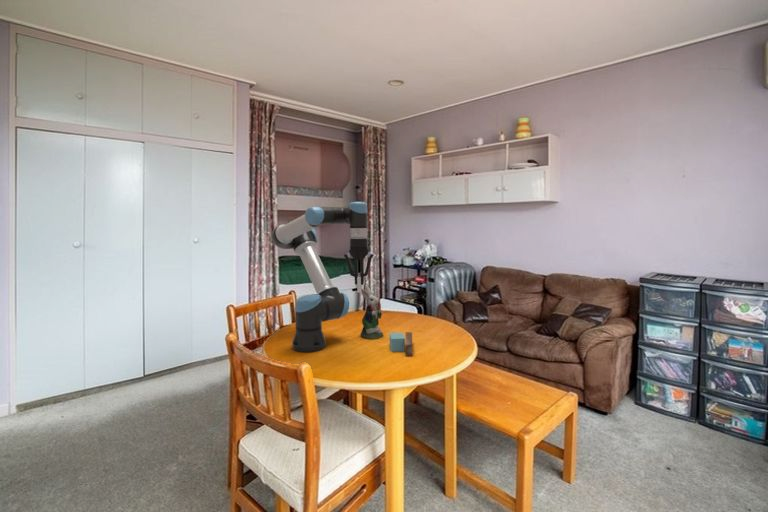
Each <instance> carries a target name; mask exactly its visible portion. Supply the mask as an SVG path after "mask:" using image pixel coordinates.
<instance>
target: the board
mask: <svg viewBox="0 0 768 512" xmlns="http://www.w3.org/2000/svg"><path fill="white" fill-rule="evenodd" d="M404 338H405V353H404V354H405V355H404V356H405V357H413V332H411V331H406V332H405V337H404Z"/></svg>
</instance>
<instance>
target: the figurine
mask: <svg viewBox="0 0 768 512" xmlns="http://www.w3.org/2000/svg"><path fill="white" fill-rule="evenodd" d="M364 288H365V289H364ZM364 288H362V291H361V295H362V297H363V298H365V300H366V301H365V302H366V303H365V304H366V307H365V313H364V314H363V317H362V319H361V324H362V326H363V327H362V330H361V332H360V337H361V338H362V339H366V340H376V339H380V338H382V337H384V333H383V332H382V329H381V328H380V327H379V319H382V315H383V314H382V306H381V305H382V304H381V301H380V298H379V297H376V296H375V295H372V290H371V289H370V287H369V286H368V285H365V286H364Z"/></svg>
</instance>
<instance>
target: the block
mask: <svg viewBox="0 0 768 512" xmlns="http://www.w3.org/2000/svg"><path fill="white" fill-rule="evenodd" d="M405 338H406V337H405V335H404V333H403V332H389V348H390V352H391V353H398V352H403V351H405ZM403 353H404V352H403Z"/></svg>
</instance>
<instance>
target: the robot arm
mask: <svg viewBox="0 0 768 512" xmlns="http://www.w3.org/2000/svg"><path fill="white" fill-rule="evenodd" d="M323 225H325V226H326V225H349V237H350V239H349V250H348V252H346V253H345V254H344V255H343V256H344V258H345V260H346V263H347V267H348V270H349V275H350V276H351V277H354V285H356V286H357V287H356V288H357V291H356V292H357V293H361V291H362V289H363V288H362V287H363V286H362V285H364V284H365V277H367V276H368V275H369V271H370V267H371V263H372V259H373V258H374V255H375V254H374V253H372V252H370V250H369V248H368V247H369V246H368V204H367V202H366V201H352V202H349V206H310V207H307V209H306V211H305V213H304V214H303V215H300V216H299V217H297V218H295V219H294V220H291V221H290V222H288V223H286V224H284V223H282V224H280V225H278V226H276V227H275V228H274V229H273V230H272V232H271V238H270V239H271V241H272V243H273V244H274V246H275V247H277V248H279V249H283V250H292V249H293V251H294V253H295V255H297V256H299V258H300V259H301V262H302V264H303V267H305V270H306V273H307V275H308V276H309V277H308V278H309V279H310V281H311V283H312V286H313V287H314V289H315V292H316V293H312V294H305V295H302V296H299V297H298V298H297V299H295V304H294V312H295V313H294V316H295V319H294V320H295V332H294V336H293V340H292V343H291V345H292V347H291V348H292V350H293V351H295V352H300V353H312V352H317V351H321V350H324V349H325V348H326V347H327V340H326V337H325V335H324V331H323V329H322V328H323V326H322V324H323V322H328V321H332V320H335V319H337V320H338V319H341V318H343V317H345V316H347V314H348V312H349V309H350V299H349V296H348V295H347V294H346V293H344V292H340V290H339V288H338V287H337V286H334V285H333V283H332V280H331V279H330V276H329V275H328V272H327V271H326V268H325V266H324V264H323V262H322V260H321V258H320V255H319V254H318V251H317V249H316V248H317V243H318V234H317V232H316V228H318V227H321V226H323ZM351 257H352V259H353V262H354V266H353V264H352V261H351ZM366 257H367V258H368V259H367V262H366V266H365V262H364V261H365V259H366ZM359 265H360V274H359ZM353 267H354V268H353ZM353 269H354V270H353ZM359 275H360V276H359ZM361 294H362V293H361Z"/></svg>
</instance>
